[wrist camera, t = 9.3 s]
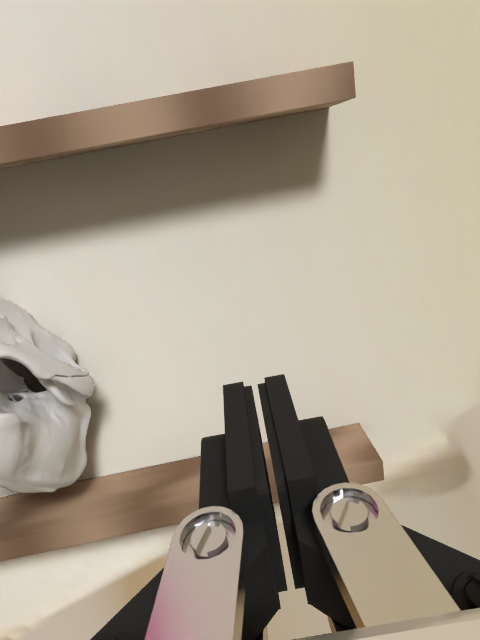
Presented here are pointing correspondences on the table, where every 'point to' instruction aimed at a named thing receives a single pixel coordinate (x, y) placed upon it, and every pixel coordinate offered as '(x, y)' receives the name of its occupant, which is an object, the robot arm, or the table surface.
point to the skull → (40, 407)
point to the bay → (184, 475)
